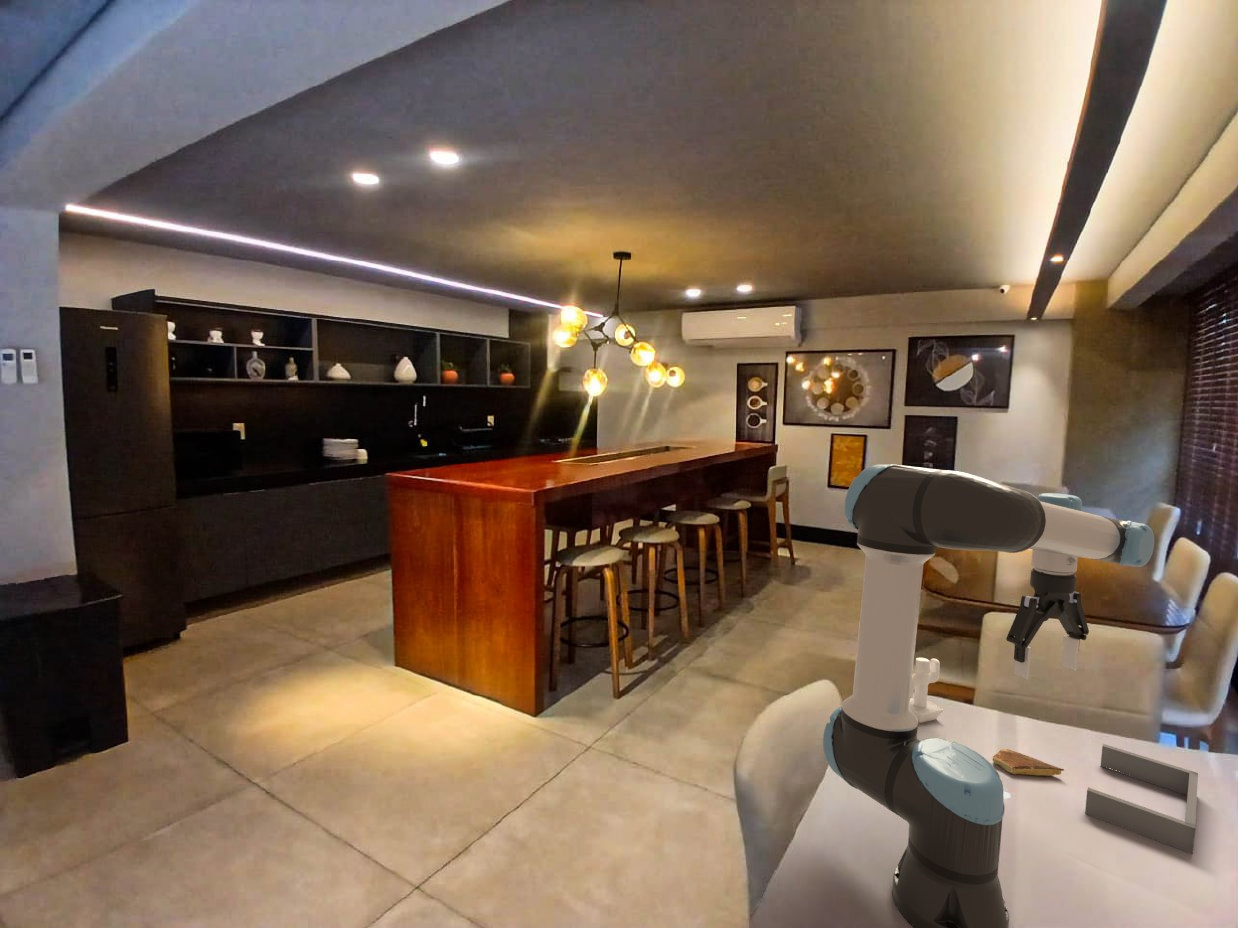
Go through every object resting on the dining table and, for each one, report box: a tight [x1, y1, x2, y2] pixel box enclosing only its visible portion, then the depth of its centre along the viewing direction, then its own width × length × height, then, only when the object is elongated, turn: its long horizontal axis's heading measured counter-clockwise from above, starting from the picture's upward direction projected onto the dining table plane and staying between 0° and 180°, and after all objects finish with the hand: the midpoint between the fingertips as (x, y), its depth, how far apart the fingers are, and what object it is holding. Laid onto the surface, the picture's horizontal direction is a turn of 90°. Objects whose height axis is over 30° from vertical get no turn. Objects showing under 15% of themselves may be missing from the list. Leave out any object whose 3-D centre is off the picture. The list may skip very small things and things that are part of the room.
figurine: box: [909, 657, 945, 724], centre depth 146 cm, size 7×9×15 cm
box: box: [1084, 743, 1199, 854], centre depth 116 cm, size 14×22×4 cm, turn 136°
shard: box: [992, 748, 1065, 777], centre depth 125 cm, size 11×8×2 cm
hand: (1045, 672), depth 126 cm, fingers open, 13 cm apart
